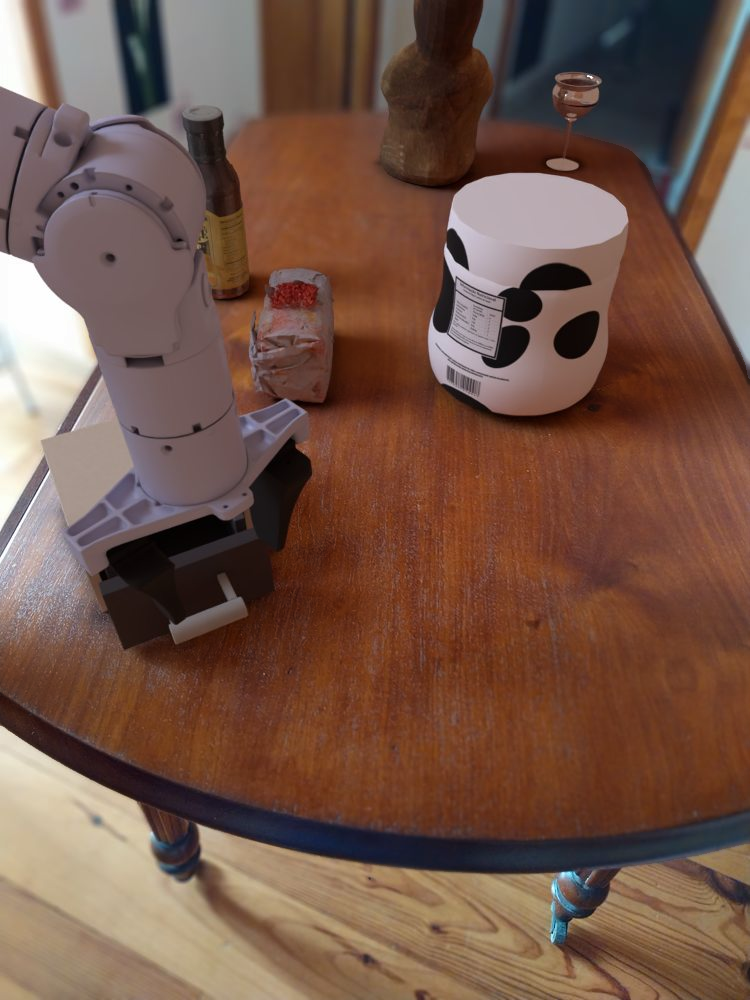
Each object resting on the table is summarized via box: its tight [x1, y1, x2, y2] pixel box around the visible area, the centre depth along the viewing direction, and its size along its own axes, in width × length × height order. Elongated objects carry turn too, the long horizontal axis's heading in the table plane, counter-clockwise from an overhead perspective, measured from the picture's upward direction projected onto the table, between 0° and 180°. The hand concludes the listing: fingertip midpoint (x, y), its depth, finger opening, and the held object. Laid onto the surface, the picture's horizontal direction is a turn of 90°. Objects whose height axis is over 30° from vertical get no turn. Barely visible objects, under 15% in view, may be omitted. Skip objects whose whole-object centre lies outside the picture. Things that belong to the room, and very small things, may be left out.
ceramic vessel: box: [379, 0, 495, 187], centre depth 102 cm, size 16×22×30 cm
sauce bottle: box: [181, 104, 251, 300], centre depth 82 cm, size 7×6×20 cm
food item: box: [248, 267, 335, 404], centre depth 74 cm, size 14×8×10 cm, turn 1°
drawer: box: [98, 513, 276, 651], centre depth 54 cm, size 14×11×6 cm
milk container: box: [427, 172, 630, 418], centre depth 71 cm, size 17×17×18 cm
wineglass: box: [546, 71, 602, 172], centre depth 112 cm, size 7×7×12 cm
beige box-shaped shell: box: [39, 417, 253, 613], centre depth 59 cm, size 12×13×8 cm
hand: (223, 576), depth 46 cm, fingers open, 7 cm apart
